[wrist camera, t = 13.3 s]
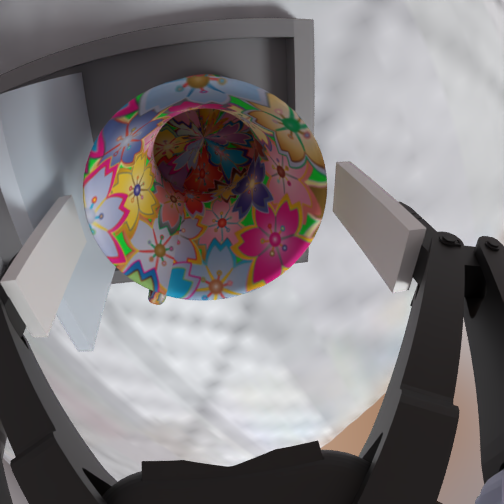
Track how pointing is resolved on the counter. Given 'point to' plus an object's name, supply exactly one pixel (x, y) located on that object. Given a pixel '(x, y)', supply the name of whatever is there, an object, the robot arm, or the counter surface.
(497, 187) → the counter surface
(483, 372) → the robot arm
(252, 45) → the grey tray
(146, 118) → the mug
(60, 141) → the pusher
